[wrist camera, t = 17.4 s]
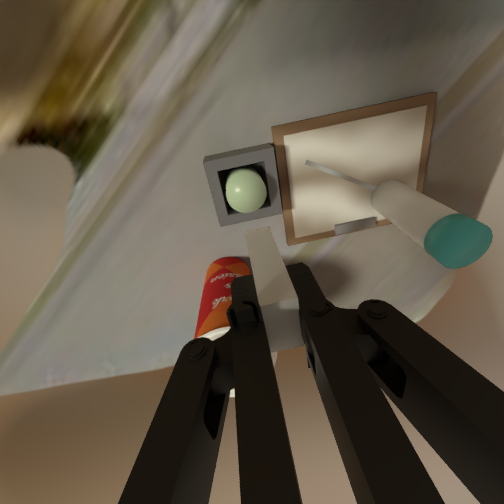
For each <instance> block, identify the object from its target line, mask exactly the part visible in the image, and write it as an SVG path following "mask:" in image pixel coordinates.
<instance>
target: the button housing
mask: <svg viewBox="0 0 504 504" xmlns="http://www.w3.org/2000/svg"><path fill="white" fill-rule="evenodd" d="M258 162H261V163H262V169H263V175H264V181H265V186H266V191H267V198H266V199H265V201H264V203H263V205H262V206H261V207H260V208H259V209H257V210H256V211H254V212H250V213H242V212H238V211H236V210H235V209H233V208H232V207H231V206H227V203H226V199H225V195H224V191H223V187H222V183H221V179H220V174H219V171H221V170H225V169H230V168H235V167H239V166H244V165H249V164H253V163H258ZM203 164H204V168H205V172H206V175H207V179H208V183H209V187H210V190H211V194H212V198H213V201H214V205H215V209H216V212H217V216H218V220H219V223H220V227H222V226H227V225H231V224H236V223H241V222H245V221H250V220H255V219H259V218H264V217H269V216H273V215H278V214H283V213H282V206H281V198H280V191H279V183H278V176H277V169H276V161H275V154H274V147H273V146H272V145H270V144H269V143H266V144H262V145H257V146H252V147H248V148H243V149H238V150H234V151H229V152H224V153H220V154H215V155H210V156H206V157H204V160H203Z"/></svg>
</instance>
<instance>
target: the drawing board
mask: <svg viewBox="0 0 504 504" xmlns="http://www.w3.org/2000/svg"><path fill="white" fill-rule="evenodd" d="M436 96H437V92H431V93H426V94H421V95H417V96H412V97H407V98H403V99H398V100H394V101H389V102H384V103H380V104H375V105H370V106H366V107H361V108H356V109H352V110H347V111H342V112H338V113H333V114H328V115H324V116H319V117H314V118H310V119H305V120H300V121H296V122H291V123H286V124H282V125H277V126H272V127H271V129H272V136H273V144H274V151H275V158H276V166H277V173H278V181H279V188H280V196H281V203H282V210H283V218H284V225H285V233H286V240H287V244H288V246H290V245H295V244H300V243H304V242H309V241H314V240H318V239H323V238H328V237H332V236H337V235H342V234H346V233H351V232H356V231H360V230H365V229H370V228H375V227H379V226H384V225H389V224H392V223H391V222H390V221H389V220H387V219H386V218H385V217H384V216H382V215H381V214H380V213H379V212H377V211H376V210H375V209H374V208H373V207H372V205H371V197H372V194H373V192H374V190H375V189H376V188H377V187H378V186H379V185H380V184H381V183H383V182H385V181H388V180H397V181H399V182H401V183H403V184H405V185H407V186H409V187H411V188H413V189H414V190H416V191H418V192H420V193H422V191H423V184H424V178H425V171H426V164H427V157H428V150H429V144H430V137H431V130H432V123H433V116H434V109H435V103H436Z"/></svg>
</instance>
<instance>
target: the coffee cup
mask: <svg viewBox="0 0 504 504" xmlns="http://www.w3.org/2000/svg"><path fill="white" fill-rule="evenodd" d="M249 274H251V272H250V269H249V267H248V266H247V264H246V263H245V262H244V261H242V260H240V259H238V258H235V257H223V258H220V259H218V260H216V261H214V262H213V263H212V264H211V265H210V267H209V269H208V271H207V274H206V279H205V283H204V289H203V294H202V299H201V305H200V310H199V315H198V321H197V326H196V332H195V337H194V339H195V338H200V337H205V338H209V339H210V340H212V341H213V340H215V339H217V338H219V337H221V336H223V335H224V334H225V333H226V332H228V331H229V329H230V325H229V321H228V318H227V315H226V312H227V309H228V307H229V306H230V305H231V304H232V298H231V283H232V281H233V279H234V278H235V277H240V276H245V275H249ZM271 356H272V361H273V365H275V362H276V359H277V352H272V353H271ZM229 397H235V390H234V389H232V390H230V396H229Z"/></svg>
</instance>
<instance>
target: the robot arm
mask: <svg viewBox="0 0 504 504" xmlns="http://www.w3.org/2000/svg"><path fill="white" fill-rule="evenodd" d="M245 236H246V241H247V246H248V251H249V256H250V261H251V266H252V271H253V274H249V275H245V276H240V277H235V278H234V279H233V281H232V283H231V298H232V304H231V305H230V306H229V307H228V309H227V312H226V315H227V318H228V321H229V325H230V329H229V331H228V332H226V333H225V334H224V335H223V336H221V337H219V338H217V339H215V340H213V341H212V340H210V339H209V338H205V337H200V338H195V339H193V340H191V341H189V342H188V343H187V344H186V345H185V346H184V347H183V349H182V350H181V352H180V355H179V357H178V359H177V362H176V364H175V367H174V369H173V372H172V375H171V376H170V379H169V381H168V384H167V386H166V389H165V391H164V394H163V396H162V398H161V401H160V403H159V405H158V408H157V411H156V413H155V415H154V418H153V420H152V422H151V425H150V428H149V430H148V432H147V435H146V437H145V439H144V442H143V444H142V447H141V449H140V452H139V454H138V456H137V459H136V461H135V464H134V466H133V468H132V471H131V473H130V476H129V478H128V481H127V483H126V485H125V488H124V490H123V493H122V495H121V498H120V500H119V503H118V504H208V503H209V498H210V492H211V488H212V482H213V477H214V472H215V467H216V462H217V457H218V452H219V447H220V442H221V437H222V431H223V426H224V422H225V416H226V412H227V406H228V402H229V396H230V390H232V389H234V390H235V407H236V423H237V424H236V425H237V442H238V459H239V475H240V476H239V477H240V492H241V493H240V494H241V504H302V499H301V494H300V489H299V484H298V480H297V475H296V470H295V465H294V460H293V456H292V451H291V446H290V441H289V437H288V432H287V428H286V422H285V418H284V413H283V408H282V403H281V399H280V394H279V389H278V385H277V380H276V375H275V371H274V365H273V361H272V356H271V353H272V352H277V351H281V350H286V349H291V348H295V347H300V346H303V345H304V344H305V346H306V352H307V360H308V368H311V370H312V372H313V375H314V378H315V381H316V384H317V387H318V390H319V393H320V396H321V399H322V402H323V404H324V408H325V411H326V414H327V416H328V419H329V422H330V425H331V428H332V431H333V434H334V437H335V440H336V443H337V446H338V449H339V452H340V455H341V458H342V460H343V463H344V466H345V469H346V472H347V475H348V478H349V481H350V484H351V487H352V490H353V493H354V496H355V498H356V502H357V504H445V503H444V501H443V499H442V498H441V496H440V494H439V492H438V490H437V489H436V487H435V485H434V483H433V481H432V480H431V478H430V476H429V475H428V473H427V471H426V469H425V467H424V465H423V464H422V462H421V460H420V458H419V456H418V455H417V453H416V451H415V449H414V447H413V446H412V444H411V442H410V440H409V438H408V437H407V435H406V433H405V431H404V429H403V428H402V426H401V424H400V422H399V420H398V419H397V417H396V415H395V413H394V412H393V410H392V408H391V406H390V404H389V403H388V401H387V399H386V397H385V395H384V394H383V392H382V390H383V391H384V392H385V393H386V395H387V396H388V397H389V398H390V399H391V400H392V402H393V403H394V404H395V405H396V406H397V407H398V408H399V410H400V411H401V412H402V413H403V414H404V415H405V417H406V418H407V419H408V420H409V421H410V422H411V424H412V425H413V426H414V427H415V428H416V429H417V430H418V432H419V433H420V434H421V435H422V436H423V438H424V439H425V440H426V441H427V442H428V443H429V444H430V446H431V447H432V448H433V449H434V450H435V451H436V453H437V454H438V455H439V456H440V457H441V458H442V460H443V461H444V462H445V463H446V464H447V465H448V467H449V468H450V469H451V470H452V471H453V472H454V473H455V475H456V476H457V477H458V478H459V479H460V480H461V482H462V483H463V484H464V485H465V486H466V487H467V489H468V490H469V491H470V492H471V493H472V494H473V495H474V497H475V498H476V499H477V500H478V501H479V502H480V504H504V392H503V391H502V390H501V389H499V388H498V387H497V386H495V385H494V384H493V383H492V382H490V381H489V380H487V379H486V378H485V377H484V376H483V375H481V374H480V373H479V372H477V371H476V370H475V369H473V368H472V367H471V366H469V365H468V364H467V363H466V362H464V361H463V360H462V359H460V358H459V357H458V356H457V355H455V354H454V353H453V352H451V351H450V350H449V349H447V348H446V347H445V346H444V345H442V344H441V343H440V342H439V341H437V340H436V339H435V338H433V337H432V336H431V335H429V334H428V333H427V332H426V331H424V330H423V329H422V328H420V327H419V326H418V325H417V324H415V323H414V322H413V321H411V320H410V319H409V318H407V317H406V316H405V315H404V314H402V313H401V312H400V311H398V310H397V309H396V308H395V307H393V306H392V305H390V304H389V303H387V302H385V301H381V300H372V299H371V300H367V301H364V302H362V303H361V304H360V305H359V307H358V309H344V308H339V307H335V306H334V305H333V304H332V303H331V302H329V301H328V300H326V298H325V296H324V295H323V293H322V291H321V289H320V287H319V285H318V283H317V282H316V280H315V278H314V276H313V275H312V272H311V270H310V269H309V267H308V266H306V265H305V264H303V263H302V262H301V263H297V264H292V265H288V266H285V264H284V262H283V259H282V257H281V254H280V252H279V249H278V247H277V244H276V242H275V239H274V237H273V234H272V232H271V229H270V227H266V228H261V229H256V230H252V231H247V232H245ZM303 341H304V343H303ZM381 389H382V390H381Z"/></svg>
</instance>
